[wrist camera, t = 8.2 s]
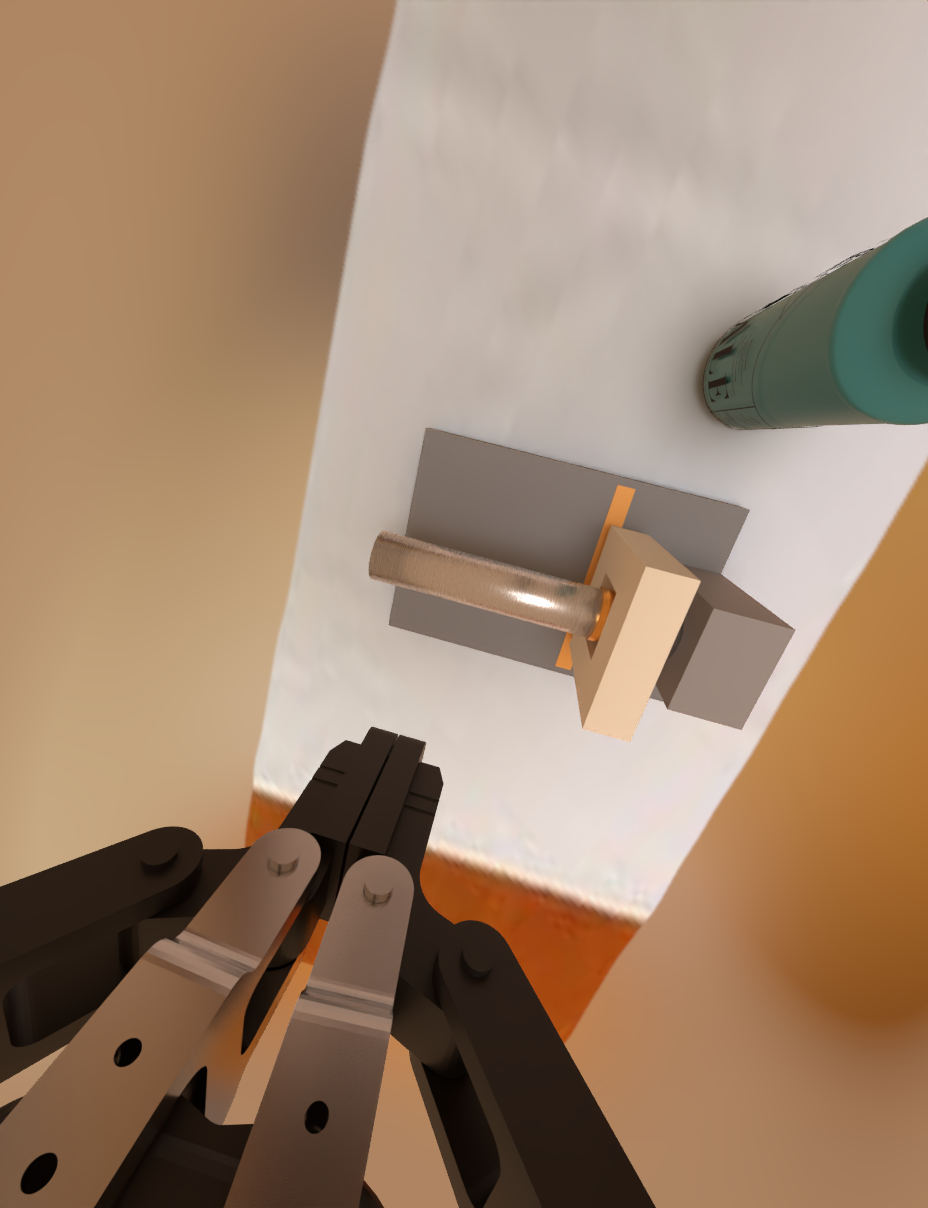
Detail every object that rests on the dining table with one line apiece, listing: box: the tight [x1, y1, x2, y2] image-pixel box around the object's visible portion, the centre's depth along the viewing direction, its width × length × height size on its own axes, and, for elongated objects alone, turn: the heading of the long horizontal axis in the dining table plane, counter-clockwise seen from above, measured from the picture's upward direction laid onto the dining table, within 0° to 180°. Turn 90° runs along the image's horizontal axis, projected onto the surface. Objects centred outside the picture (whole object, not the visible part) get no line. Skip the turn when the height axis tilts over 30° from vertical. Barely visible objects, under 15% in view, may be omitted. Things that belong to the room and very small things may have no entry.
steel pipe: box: [369, 531, 684, 659], centre depth 28 cm, size 3×19×3 cm, turn 77°
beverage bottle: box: [703, 217, 928, 430], centre depth 20 cm, size 6×7×20 cm
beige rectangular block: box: [569, 525, 701, 742], centre depth 28 cm, size 9×2×11 cm, turn 166°
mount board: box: [389, 428, 795, 730], centre depth 30 cm, size 15×22×12 cm
